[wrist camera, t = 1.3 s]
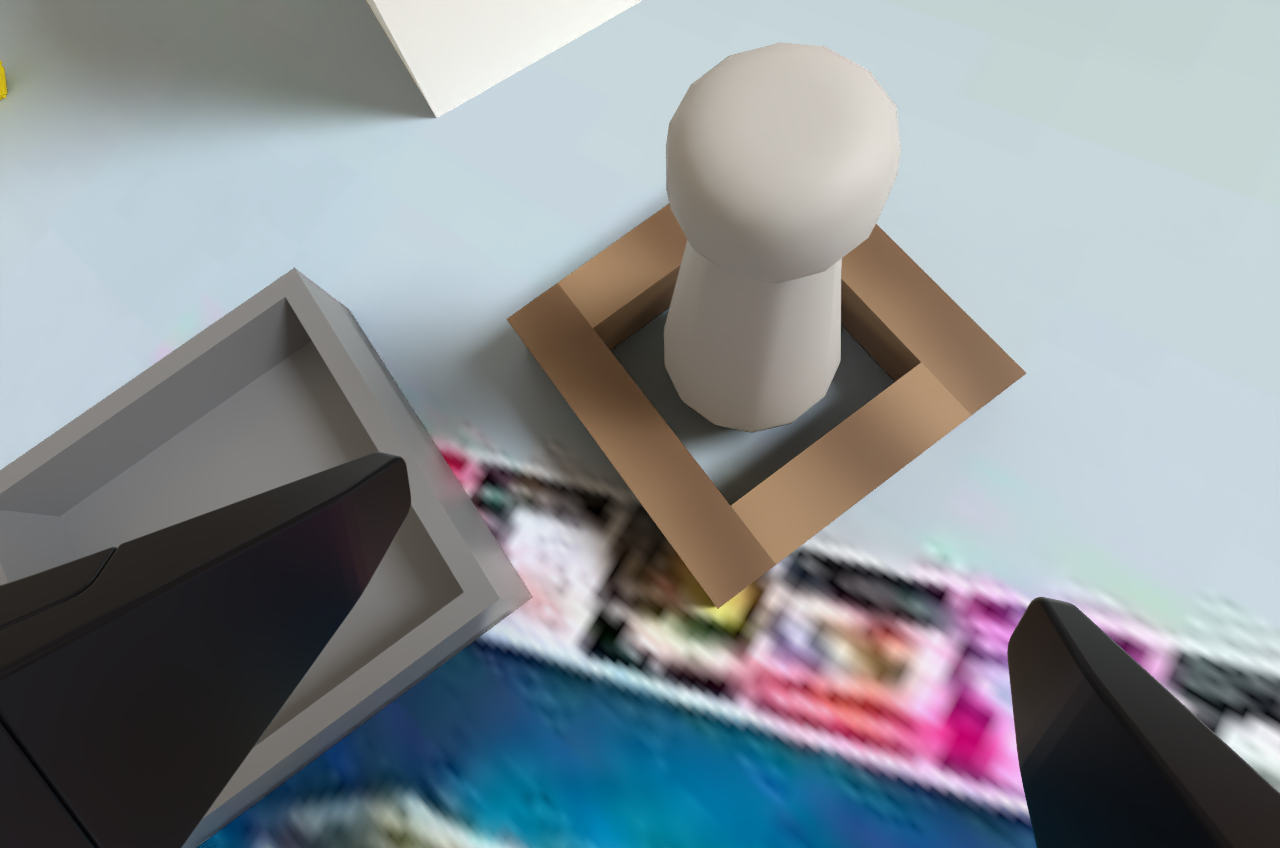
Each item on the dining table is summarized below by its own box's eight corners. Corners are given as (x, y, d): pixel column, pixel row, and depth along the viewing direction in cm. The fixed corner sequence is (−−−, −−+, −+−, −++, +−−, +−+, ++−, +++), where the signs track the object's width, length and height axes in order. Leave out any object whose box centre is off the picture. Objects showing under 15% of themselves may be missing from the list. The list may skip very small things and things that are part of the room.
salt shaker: (637, 383, 24) (548, 149, 11) (730, 270, 24) (746, -67, 12) (765, 478, 22) (828, 333, 10) (860, 356, 23) (1034, 73, 10)
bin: (193, 850, 21) (94, 898, 18) (55, 514, 25) (-47, 502, 22) (532, 596, 22) (499, 598, 19) (349, 309, 26) (294, 267, 22)
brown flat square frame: (717, 606, 21) (717, 608, 19) (527, 345, 25) (506, 319, 22) (992, 397, 22) (1026, 373, 20) (771, 170, 25) (778, 126, 23)
